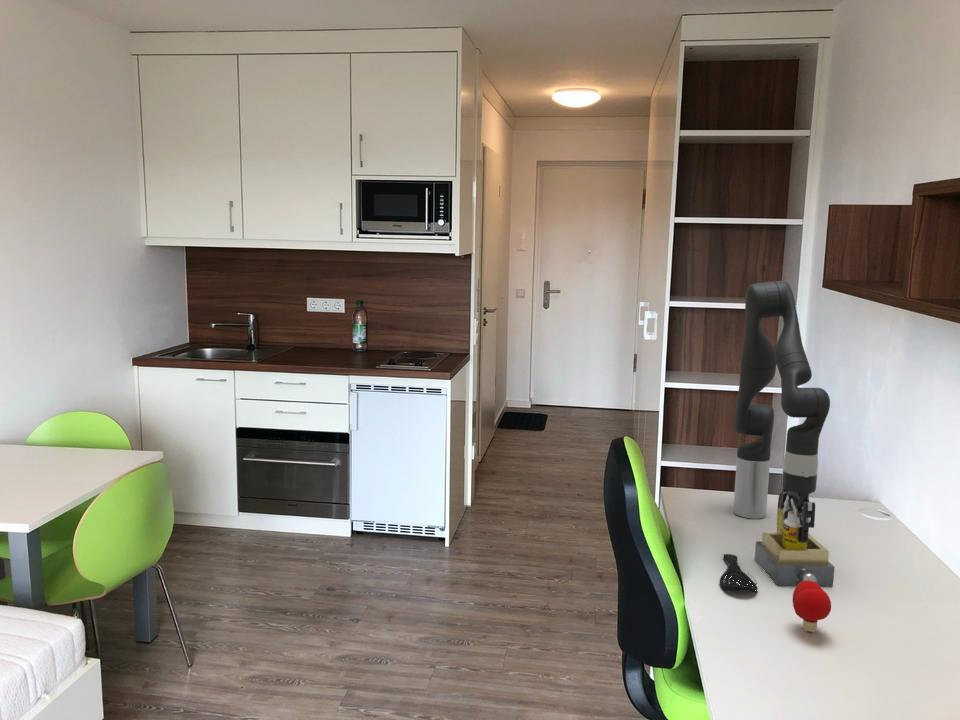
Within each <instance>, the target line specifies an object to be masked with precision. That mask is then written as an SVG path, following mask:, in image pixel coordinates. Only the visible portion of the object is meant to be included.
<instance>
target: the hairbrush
mask: <svg viewBox="0 0 960 720" xmlns="http://www.w3.org/2000/svg"><path fill="white" fill-rule="evenodd" d="M722 555H723V560H725V561H727V563H728V567H727V569H725V571H724V573H722V575H721V576H720V577H721V578H719V582H720V583H719V586H720V585H721V587H722V588H721V587H720V588H721V589H724V590H730V591H732V590H734V591H744V592H753V593H756V592H758V591H757V590H758V586H757V584H758V581H757V580H756V579H755V577H753V576H752V574H750V572H748V573H745V572H744V571H743V567H742V568H741V566H739V563H738V556H737V555H736V554H731V553H730V554H729V553H725V554H722ZM749 574H750V575H749ZM726 575H727V576H726ZM725 576H726V578H725ZM731 576H732V577H731ZM730 577H731V578H730ZM751 577H752V578H751ZM724 578H725V579H724ZM729 578H730V579H729ZM733 580H734V581H733ZM738 580H739V581H738ZM740 581H741V582H740ZM749 581H750V582H751V583H750V582H749ZM729 582H730V584H729ZM736 582H738V583H739V584H740V585H739V584H738V583H736ZM747 584H748V585H747ZM752 585H753V586H752ZM744 586H745V587H744ZM755 590H756V591H755Z"/></svg>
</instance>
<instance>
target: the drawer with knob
mask: <svg viewBox="0 0 960 720" xmlns="http://www.w3.org/2000/svg"><path fill="white" fill-rule="evenodd" d="M761 534H762V535H761V541H760V540H759V541H757V540H756V541H755V547H754V548H755V549H754V550H755V551H754V562H756V564H757V565H758V564H759V565H760V566H761V567H762V568H763V569H764V570H765V572H766V573H767V574H768V575H769V576H770V577H769V576H768V575H767V574H766V573H765V572H764V573H765V574H766V575H767V576H768V577H769V579H770V578H771V579H772V580H773V581H774V582H773V581H772V580H771V579H770V580H771V581H772V582H773V583H774V584H775V586H776V585H777V586H776V587H796V586H797V585H798V584H799V583H800V582H802V581H813V582H815V583H817V584H818V585H819V586H820V587H821V588H833V587H834V580H835V579H834V577H835V565H834V564H832V563H831V562H830V561H829V555H830V552H829V550H828V549H827V548H826V547H824V546H823V545H822V544H821V543H820V542H819V541H818V540H817V539H815V538H814V537H813V536H812V535H811V534H810V533H809V532H808V541H807V549H783V548H782V539H783V533H777V532H762V533H761ZM759 565H758V566H759ZM760 566H759V567H760ZM761 567H760V568H761ZM762 568H761V569H762ZM763 569H762V570H763ZM764 570H763V571H764Z"/></svg>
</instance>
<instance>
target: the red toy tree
mask: <svg viewBox="0 0 960 720" xmlns="http://www.w3.org/2000/svg"><path fill="white" fill-rule="evenodd" d="M792 607H793V609H794V612H795V614H796V615H797V616H798V618H800V619H802V628H803V629H804V630H805V631H806V633H809V634H811V633H813V632H816V631H817V629H818V622H819V621H820V620H821V621H822V620H824V619H826V618H828V616H829V615H830V613H831V611H832V601H831V599H830V596H829V594H828V593H827V592H826V591H824V589H823V587H820V586H819V585H818V584H817V583H815V582H813V581H802V582H800V583H799V584H798V585H797V586H794V590H793V593H792Z"/></svg>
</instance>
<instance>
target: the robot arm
mask: <svg viewBox="0 0 960 720" xmlns="http://www.w3.org/2000/svg"><path fill="white" fill-rule="evenodd" d="M744 307H745V309H744V333H743V334H744V336H743V344H742V345H743V346H742V350H741V351H742V352H741V358H740V366H739V367H740V368H739V369H740V370H739V371H740V372H739V384H738V385H739V387H738V393H737V399H736V403H735V407H734V408H735V410H734V415H733V427H734V430H735V432H736V433H737V434H740V435H747V436H759V437H758V438H757V439H756V440H754V441H751V442H747V443H745V444H741V445H739V446H738V447H737V451H736V463H735V465H736V466H735V468H736V469H735V481H734V495H733V510H732V511H733V514H735V515H736V516H739V517H742V518H746V519H755V520H756V519H763V518H766V516H767V506H768V494H769V493H768V490H769V481H770V480H769V479H770V466H771V465H770V464H771V448H772V438H773V437H772V436H773V429H774V423H775V422H774V421H775V409H774V408H773V406H772V405H770V404H764V403H762V404H761V403H752V401H753V399H754V398H755V397H756V396H757V395H758V394H759V393H760V392H761V391H763V389H765V388H766V387H767V386H768V385H769V384H770V383H771V382H772V380H773V379H774V377H775V375H776V371H777V370H778V373H779V376H780V382H781V383H780V384H781V386H780V387H781V393H780V394H781V397H780V405H781V409H782V411H783V412H784V414H786V416H787V417H790V418H805V420H804V422H802V423H799V424H797V425H793V426H791V427H789V428H788V429H787V432H786V441H785V454H784V458H783V466H782V467H783V468H782V469H783V470H782V478H781V486H782V487H781V491H782V494H781V503H780V507H781V508H783V513H785V514H784V520H785V519H786V518H788V512H789V511H794V515H795V518H797V520H798V525H799V526H798V536H797V541H798V542H800V543H806V542H807V541H808V533H809V530H810V529H811V528H813V529H814V528H815V521H816V520H815V519H816V518H815V517H816V502H813V501H812V502H811V501H810V498H809V497H810V494H812V493H815V492H816V490H817V482H818V481H817V480H818V471H819V470H818V467H819V459H818V456H819V455H818V454H819V439H820V436H821V433H822V430H823V427H824V424H825V422H826V419H827V417H828V415H829V411H830V408H831V399H830V396H829V394H828V392H827V391H826V390H825V389H823V388H821V387H799V386H803V385H805V384H807V383H809V382H810V380H811V379H812V376H813V373H812V372H813V371H812V369H811V366H810V362H809V360H808V358H807V354H806V352H805V349H804V345H803V340H802V335H801V330H800V329H801V328H800V323H799V316H798V313H797V307H796V300H795V296H794V292H793V289H792V287H791V285H790V284H789V283H788V282H787V281H785V280H772V281H765V282H756V283H752V284H750V285H749V286H748V287H747V289H746V293H745V306H744ZM777 317H782V320H783V327H782V330H781V333H780V336H779V338H778V340H777V342H776V345H775V346H774V345H773V343H772V342H771V341H770V339H769V337H767V336H766V334H765V333H764V331H763V329H762V328H761V320H762V319H767V318H777ZM776 369H777V370H776ZM800 513H802V514H800ZM801 518H802V520H801ZM783 526H784V523H783ZM809 528H810V529H809Z"/></svg>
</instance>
